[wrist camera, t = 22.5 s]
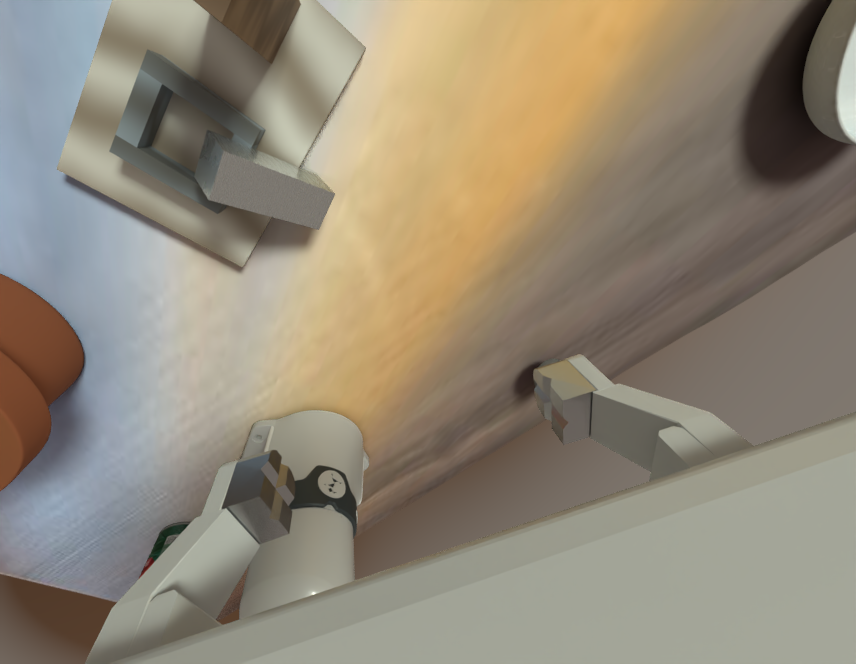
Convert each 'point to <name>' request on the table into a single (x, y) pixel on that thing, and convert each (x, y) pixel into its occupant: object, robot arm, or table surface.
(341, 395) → the table surface
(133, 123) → the socket board with post
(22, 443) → the potted cactus
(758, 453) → the robot arm
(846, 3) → the serving bowl
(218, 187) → the gray rectangular block
